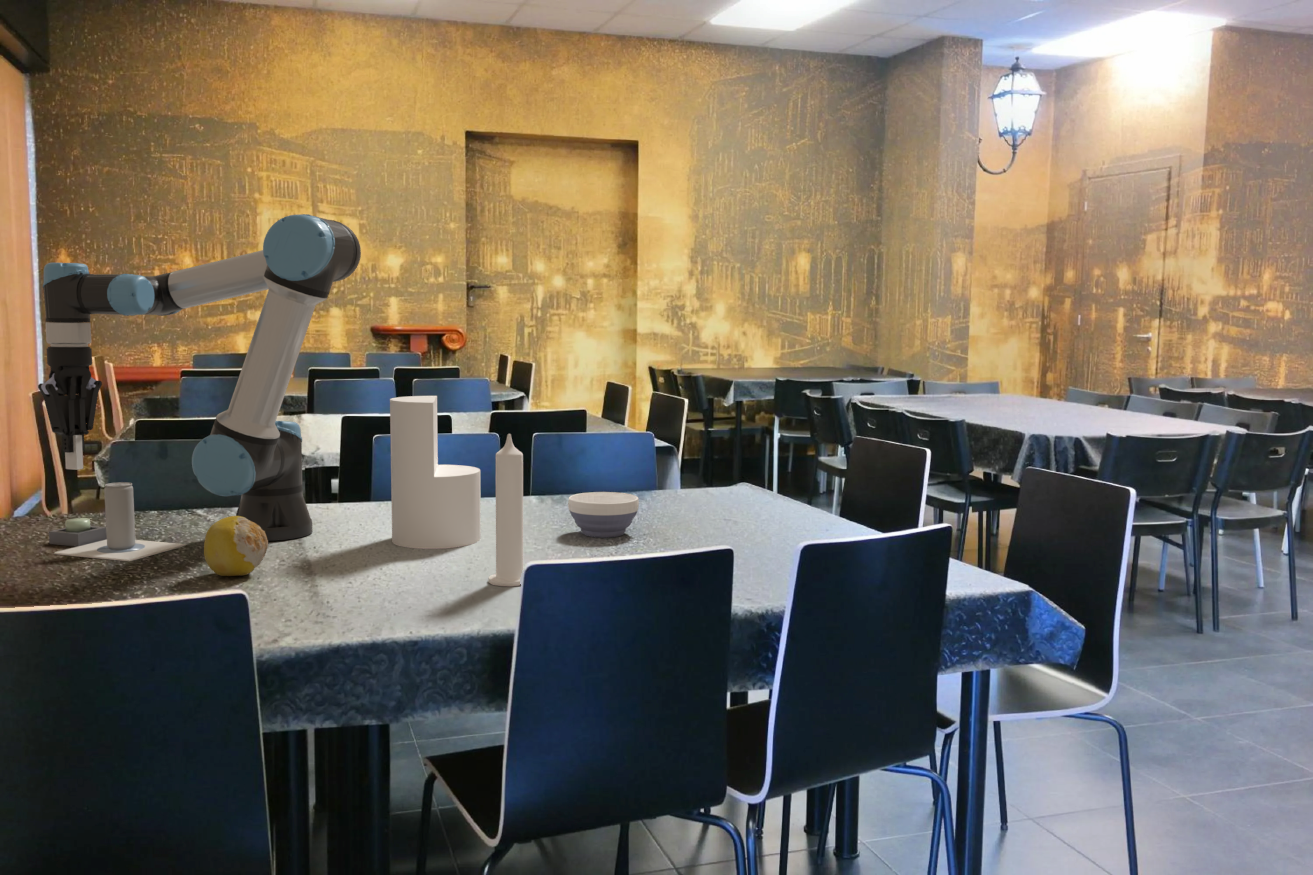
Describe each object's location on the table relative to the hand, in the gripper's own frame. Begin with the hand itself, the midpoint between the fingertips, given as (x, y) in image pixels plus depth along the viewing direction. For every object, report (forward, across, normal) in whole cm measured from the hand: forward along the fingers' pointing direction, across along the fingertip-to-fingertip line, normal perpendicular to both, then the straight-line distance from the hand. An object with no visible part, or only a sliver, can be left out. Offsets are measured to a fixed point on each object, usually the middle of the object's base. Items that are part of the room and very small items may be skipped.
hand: (74, 468), depth 207 cm
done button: (+12, 0, 0) cm, 12 cm away
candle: (+14, 0, +91) cm, 92 cm away
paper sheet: (+14, +3, +13) cm, 20 cm away
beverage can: (+14, +3, +13) cm, 19 cm away
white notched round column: (+14, -26, +63) cm, 70 cm away
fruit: (+14, +12, +46) cm, 50 cm away
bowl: (+14, -43, +92) cm, 103 cm away
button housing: (+14, 0, 0) cm, 14 cm away
